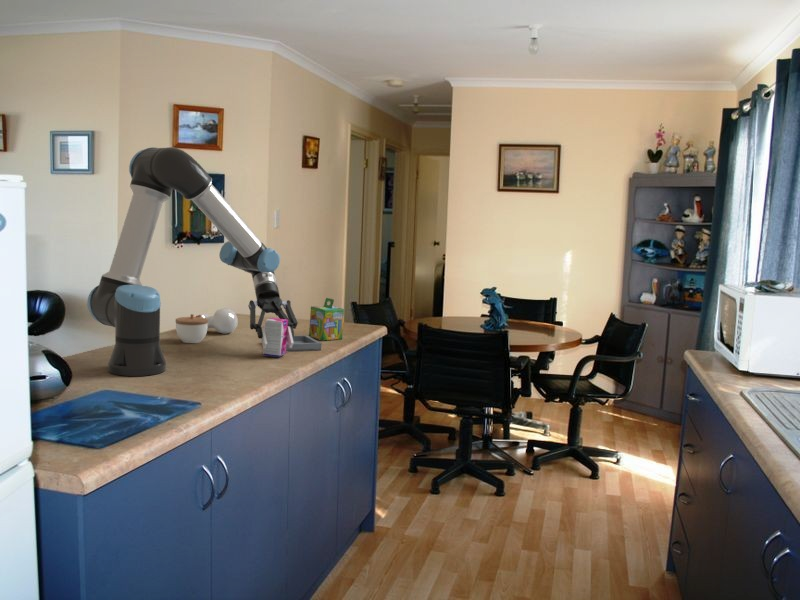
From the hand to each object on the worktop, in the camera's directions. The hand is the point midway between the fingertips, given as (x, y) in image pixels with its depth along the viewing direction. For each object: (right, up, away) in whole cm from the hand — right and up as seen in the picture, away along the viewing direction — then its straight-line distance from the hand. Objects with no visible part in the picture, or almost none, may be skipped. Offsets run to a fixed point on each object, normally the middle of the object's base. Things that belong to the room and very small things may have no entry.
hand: (278, 345), depth 230 cm
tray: (+1, -2, +21) cm, 21 cm away
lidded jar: (-33, 0, +20) cm, 39 cm away
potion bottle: (-29, +2, +39) cm, 49 cm away
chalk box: (+11, 0, +40) cm, 41 cm away
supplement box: (-2, -3, +4) cm, 5 cm away
